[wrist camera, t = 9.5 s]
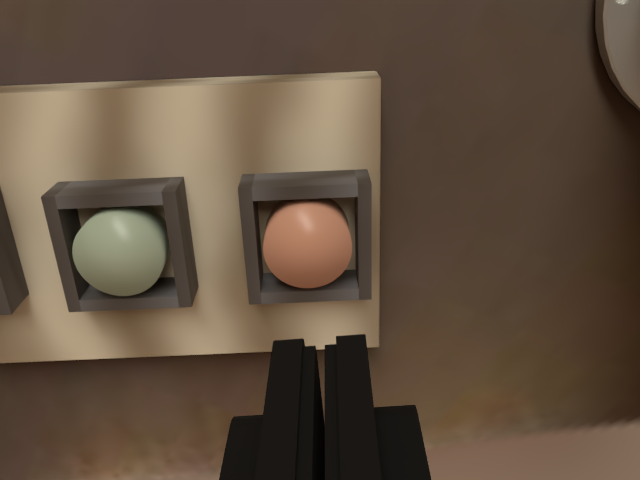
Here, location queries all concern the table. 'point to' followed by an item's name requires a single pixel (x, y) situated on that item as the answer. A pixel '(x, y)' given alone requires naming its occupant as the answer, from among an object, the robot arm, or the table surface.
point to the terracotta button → (307, 242)
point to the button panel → (185, 210)
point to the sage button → (122, 249)
